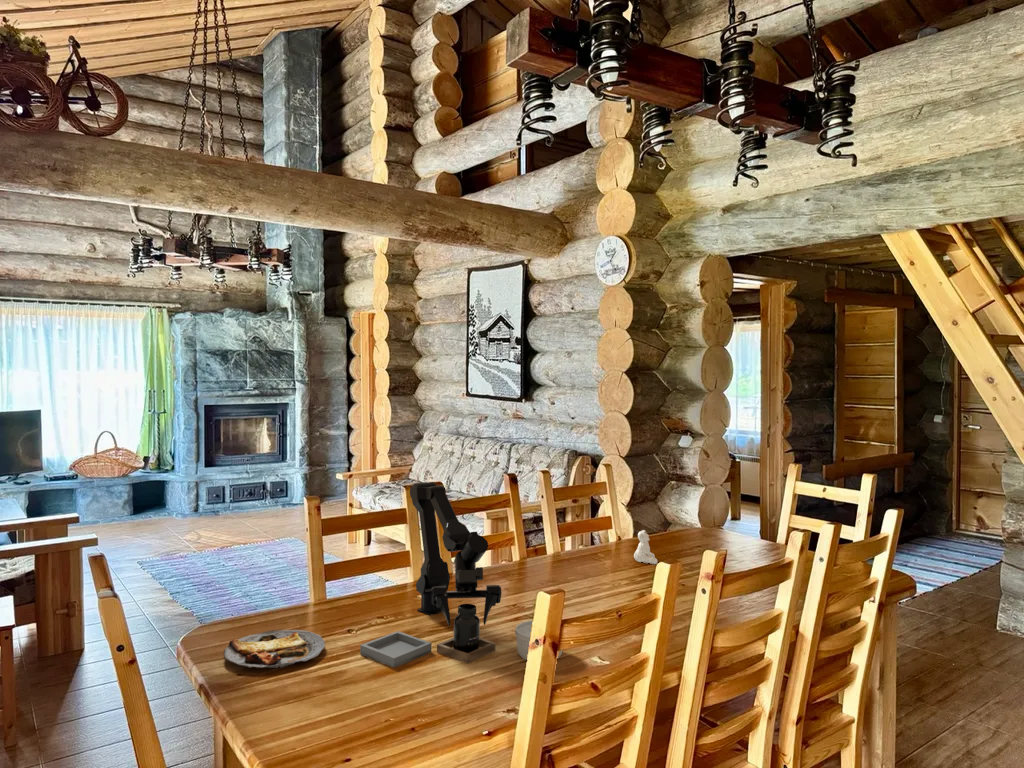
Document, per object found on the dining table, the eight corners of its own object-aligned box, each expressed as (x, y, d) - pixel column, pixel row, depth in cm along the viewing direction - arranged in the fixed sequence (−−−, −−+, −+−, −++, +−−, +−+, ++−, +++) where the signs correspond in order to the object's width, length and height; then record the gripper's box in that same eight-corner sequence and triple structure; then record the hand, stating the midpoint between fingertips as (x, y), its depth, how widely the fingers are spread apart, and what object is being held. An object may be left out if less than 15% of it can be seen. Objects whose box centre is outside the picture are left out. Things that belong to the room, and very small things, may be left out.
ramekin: (570, 649, 197) (571, 623, 197) (557, 668, 184) (558, 641, 184) (523, 642, 201) (524, 617, 201) (507, 660, 189) (508, 634, 188)
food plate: (228, 680, 175) (229, 665, 175) (218, 646, 196) (218, 633, 196) (333, 664, 187) (334, 650, 187) (313, 634, 207) (313, 621, 207)
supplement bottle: (475, 657, 190) (476, 611, 190) (450, 655, 192) (450, 609, 191) (482, 647, 197) (482, 603, 197) (457, 645, 198) (457, 601, 198)
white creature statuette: (658, 565, 278) (659, 533, 278) (635, 564, 279) (636, 533, 278) (653, 558, 288) (654, 527, 288) (631, 557, 288) (632, 527, 288)
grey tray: (360, 654, 191) (360, 644, 191) (397, 639, 201) (397, 630, 201) (394, 668, 183) (394, 658, 183) (431, 652, 193) (431, 642, 193)
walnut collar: (436, 652, 193) (436, 644, 193) (465, 640, 202) (465, 632, 202) (467, 663, 187) (467, 655, 186) (495, 650, 195) (495, 642, 195)
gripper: (431, 556, 197) (431, 611, 187) (501, 555, 199) (504, 609, 189) (431, 577, 205) (431, 631, 195) (498, 576, 207) (501, 628, 197)
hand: (467, 624), depth 193 cm, fingers open, 9 cm apart
